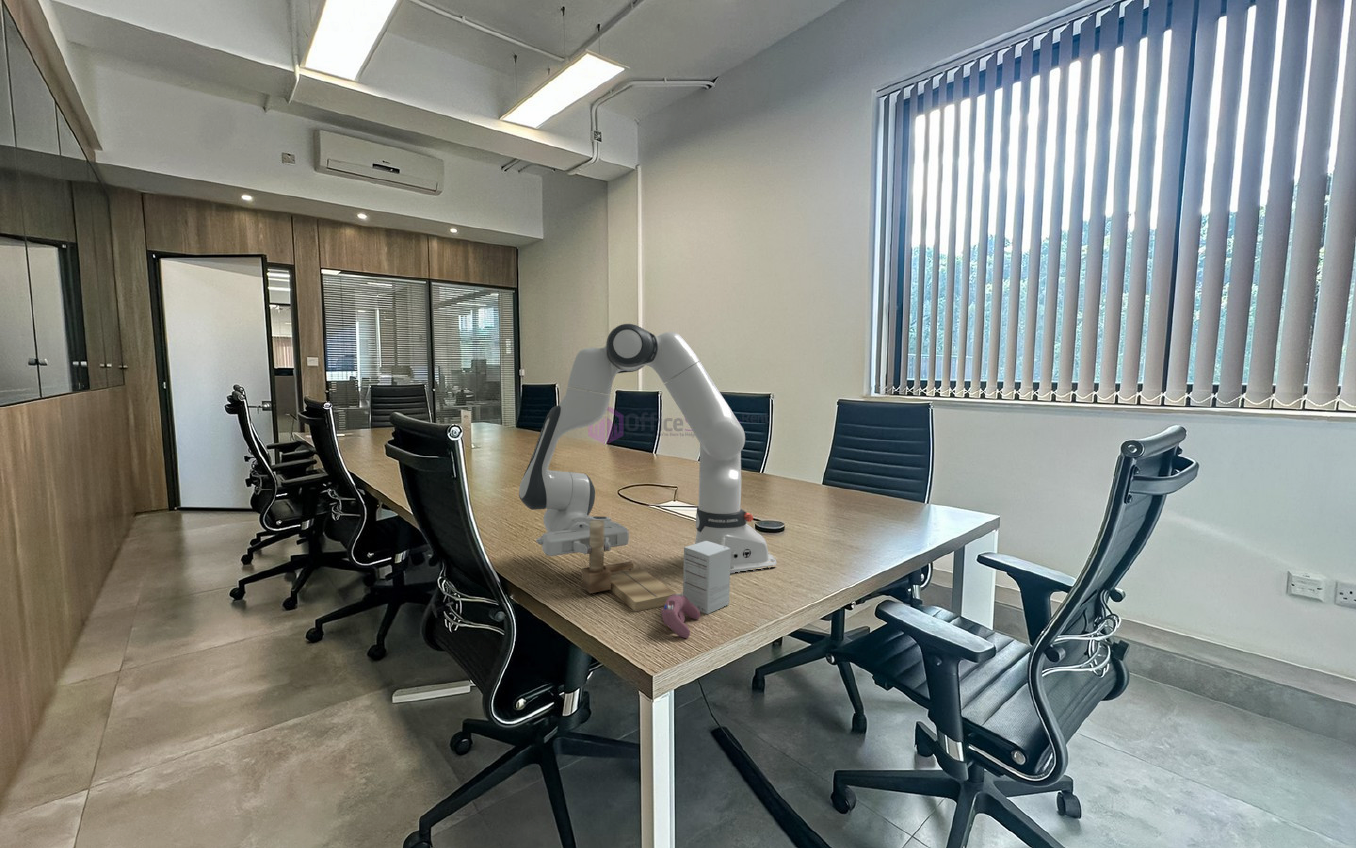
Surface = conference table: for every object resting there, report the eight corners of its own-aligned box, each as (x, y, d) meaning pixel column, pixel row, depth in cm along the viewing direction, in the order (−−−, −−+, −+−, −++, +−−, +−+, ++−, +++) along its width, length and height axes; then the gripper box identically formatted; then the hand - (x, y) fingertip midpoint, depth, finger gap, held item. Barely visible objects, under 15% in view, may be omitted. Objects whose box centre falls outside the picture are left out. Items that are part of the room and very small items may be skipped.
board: (594, 576, 131) (595, 568, 130) (632, 570, 136) (632, 562, 135) (635, 611, 112) (635, 602, 112) (677, 602, 117) (677, 593, 117)
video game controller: (683, 623, 111) (669, 591, 111) (703, 616, 110) (688, 584, 110) (669, 645, 101) (654, 610, 102) (690, 638, 100) (675, 603, 100)
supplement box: (704, 594, 122) (706, 539, 120) (730, 605, 116) (732, 547, 115) (681, 603, 116) (682, 546, 115) (706, 615, 111) (708, 555, 110)
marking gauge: (589, 593, 118) (590, 526, 117) (581, 585, 123) (582, 520, 121) (636, 584, 124) (637, 520, 123) (627, 577, 128) (628, 515, 127)
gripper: (534, 525, 127) (552, 541, 115) (614, 515, 137) (639, 529, 125) (534, 551, 127) (552, 570, 115) (614, 540, 138) (638, 556, 126)
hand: (598, 549), depth 120 cm, fingers closed on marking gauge, 3 cm apart
